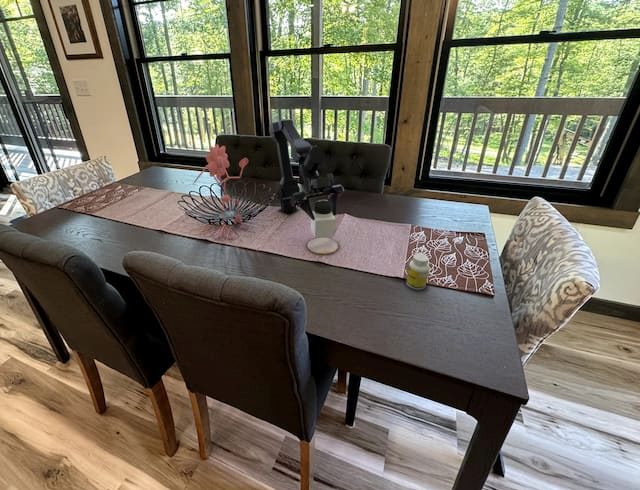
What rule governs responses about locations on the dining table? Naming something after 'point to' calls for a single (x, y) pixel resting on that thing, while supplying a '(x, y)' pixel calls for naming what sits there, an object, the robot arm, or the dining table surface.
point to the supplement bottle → (418, 272)
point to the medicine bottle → (323, 220)
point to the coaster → (322, 246)
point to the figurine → (217, 168)
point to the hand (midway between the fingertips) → (324, 217)
